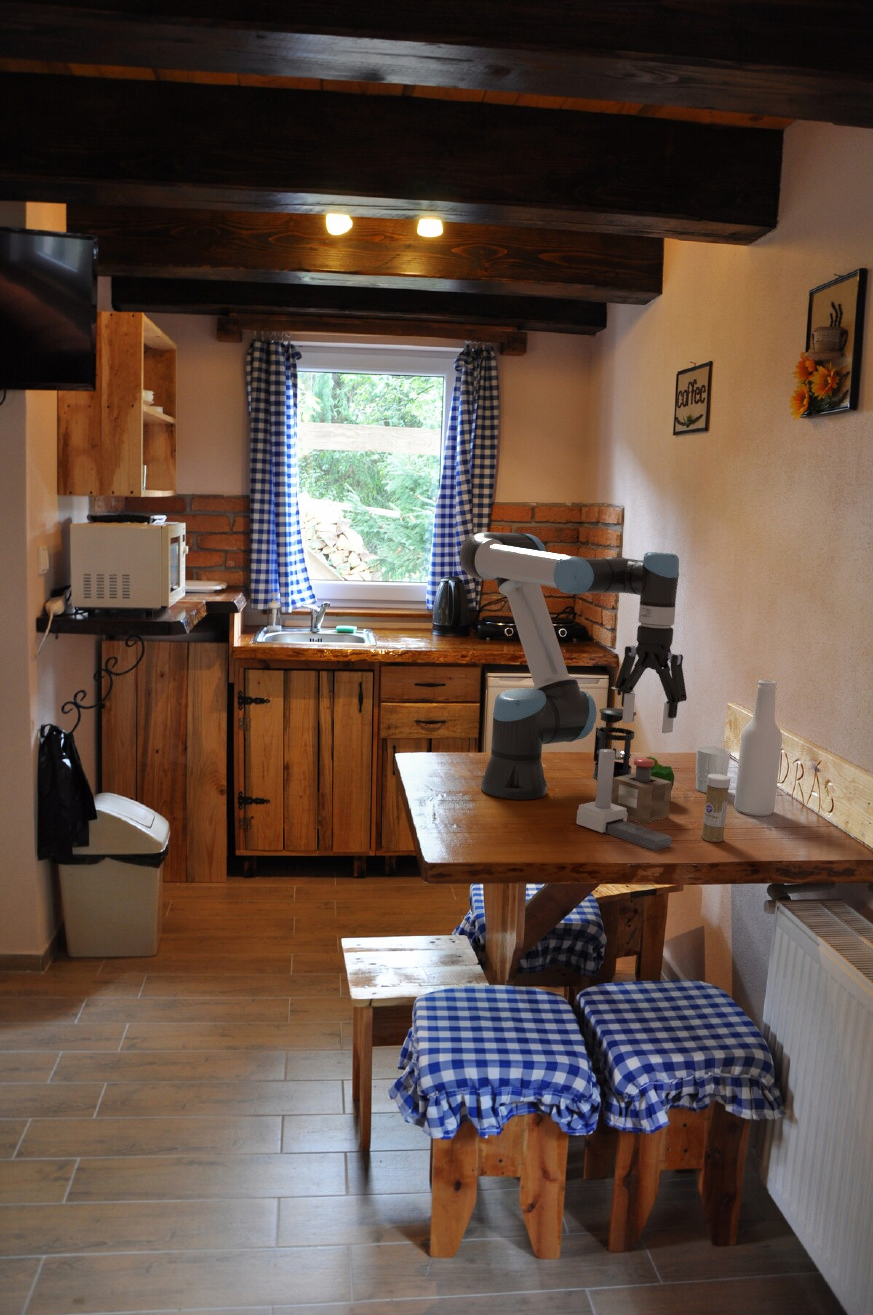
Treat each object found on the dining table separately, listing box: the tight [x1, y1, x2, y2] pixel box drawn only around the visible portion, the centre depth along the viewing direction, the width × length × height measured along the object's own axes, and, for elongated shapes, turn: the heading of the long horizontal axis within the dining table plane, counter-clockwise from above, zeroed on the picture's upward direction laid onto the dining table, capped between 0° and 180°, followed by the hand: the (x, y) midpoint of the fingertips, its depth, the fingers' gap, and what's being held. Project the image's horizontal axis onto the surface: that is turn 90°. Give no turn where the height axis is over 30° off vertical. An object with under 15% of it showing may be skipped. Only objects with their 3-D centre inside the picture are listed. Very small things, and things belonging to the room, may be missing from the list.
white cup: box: [695, 745, 732, 794], centre depth 259 cm, size 8×8×10 cm
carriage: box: [576, 748, 628, 834], centre depth 224 cm, size 7×8×16 cm
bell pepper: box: [645, 756, 675, 792], centre depth 248 cm, size 8×8×10 cm
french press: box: [592, 686, 637, 781], centre depth 264 cm, size 12×9×23 cm
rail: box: [603, 819, 673, 852], centre depth 221 cm, size 20×5×2 cm, turn 41°
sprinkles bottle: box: [701, 774, 731, 843], centre depth 220 cm, size 5×5×14 cm
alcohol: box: [733, 679, 783, 817], centre depth 241 cm, size 9×9×30 cm
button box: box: [611, 772, 673, 825], centre depth 235 cm, size 9×9×8 cm
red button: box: [633, 757, 655, 784], centre depth 234 cm, size 4×4×8 cm
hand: (646, 727), depth 232 cm, fingers open, 10 cm apart
